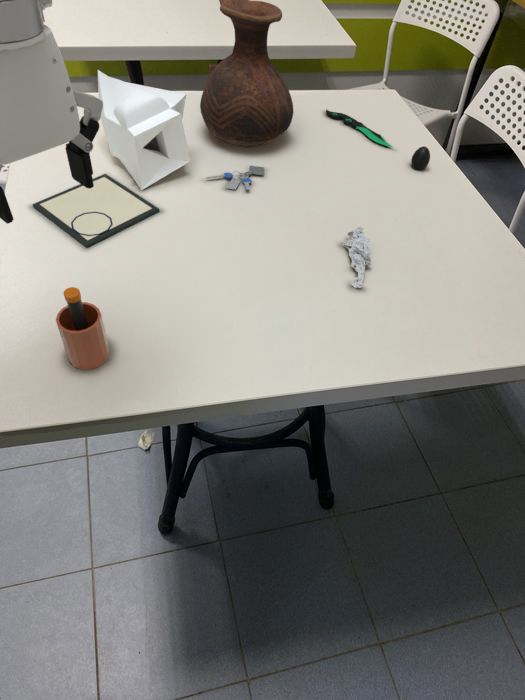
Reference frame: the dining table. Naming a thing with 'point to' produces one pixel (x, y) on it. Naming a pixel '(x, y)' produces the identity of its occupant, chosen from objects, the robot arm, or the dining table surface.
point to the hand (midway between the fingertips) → (45, 199)
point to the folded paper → (143, 128)
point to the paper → (358, 253)
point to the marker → (76, 308)
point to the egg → (420, 158)
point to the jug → (247, 81)
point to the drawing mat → (96, 210)
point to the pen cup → (84, 338)
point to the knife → (358, 127)
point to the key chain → (235, 182)
